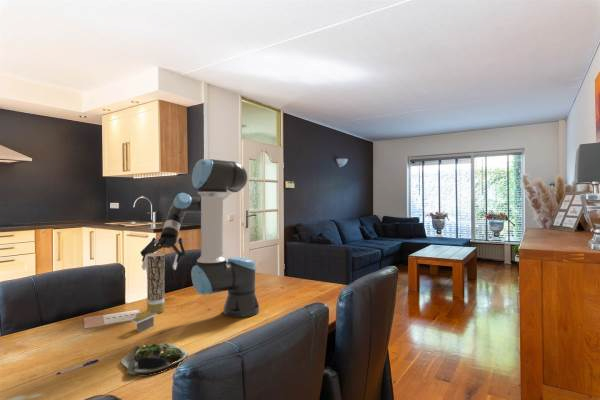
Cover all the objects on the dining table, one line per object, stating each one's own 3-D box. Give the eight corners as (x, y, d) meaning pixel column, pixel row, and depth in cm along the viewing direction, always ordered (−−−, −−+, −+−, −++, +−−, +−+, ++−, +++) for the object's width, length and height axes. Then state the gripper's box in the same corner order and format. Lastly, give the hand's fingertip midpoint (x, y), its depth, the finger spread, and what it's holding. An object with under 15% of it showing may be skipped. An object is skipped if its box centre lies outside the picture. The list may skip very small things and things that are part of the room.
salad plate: (107, 360, 102) (107, 345, 102) (165, 342, 115) (165, 329, 115) (132, 384, 89) (132, 367, 89) (194, 361, 102) (194, 346, 102)
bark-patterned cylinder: (158, 315, 142) (158, 255, 142) (143, 313, 143) (144, 254, 143) (167, 309, 149) (167, 252, 149) (153, 308, 150) (154, 252, 150)
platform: (111, 337, 120) (111, 318, 120) (148, 320, 137) (149, 304, 137) (137, 342, 116) (138, 322, 116) (173, 324, 133) (173, 307, 133)
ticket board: (142, 318, 138) (142, 317, 138) (84, 328, 127) (84, 327, 127) (138, 310, 148) (138, 309, 148) (84, 319, 137) (84, 317, 137)
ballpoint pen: (97, 361, 101) (97, 357, 101) (99, 362, 101) (99, 358, 101) (56, 375, 93) (56, 371, 93) (57, 376, 93) (57, 372, 93)
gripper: (197, 236, 169) (188, 272, 154) (147, 236, 168) (133, 272, 153) (194, 226, 164) (185, 263, 149) (142, 226, 163) (127, 263, 148)
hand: (158, 268), depth 151 cm, fingers open, 13 cm apart
